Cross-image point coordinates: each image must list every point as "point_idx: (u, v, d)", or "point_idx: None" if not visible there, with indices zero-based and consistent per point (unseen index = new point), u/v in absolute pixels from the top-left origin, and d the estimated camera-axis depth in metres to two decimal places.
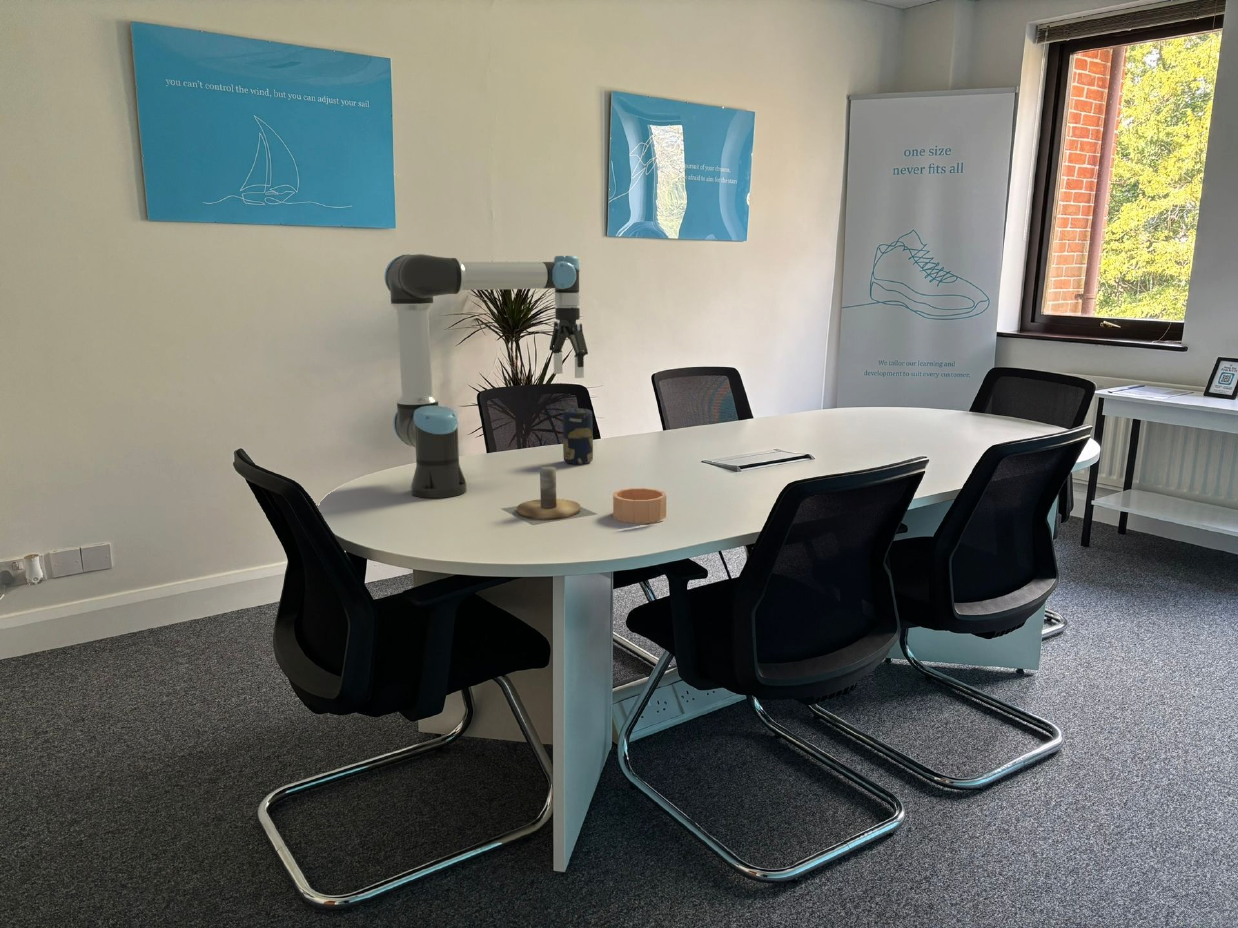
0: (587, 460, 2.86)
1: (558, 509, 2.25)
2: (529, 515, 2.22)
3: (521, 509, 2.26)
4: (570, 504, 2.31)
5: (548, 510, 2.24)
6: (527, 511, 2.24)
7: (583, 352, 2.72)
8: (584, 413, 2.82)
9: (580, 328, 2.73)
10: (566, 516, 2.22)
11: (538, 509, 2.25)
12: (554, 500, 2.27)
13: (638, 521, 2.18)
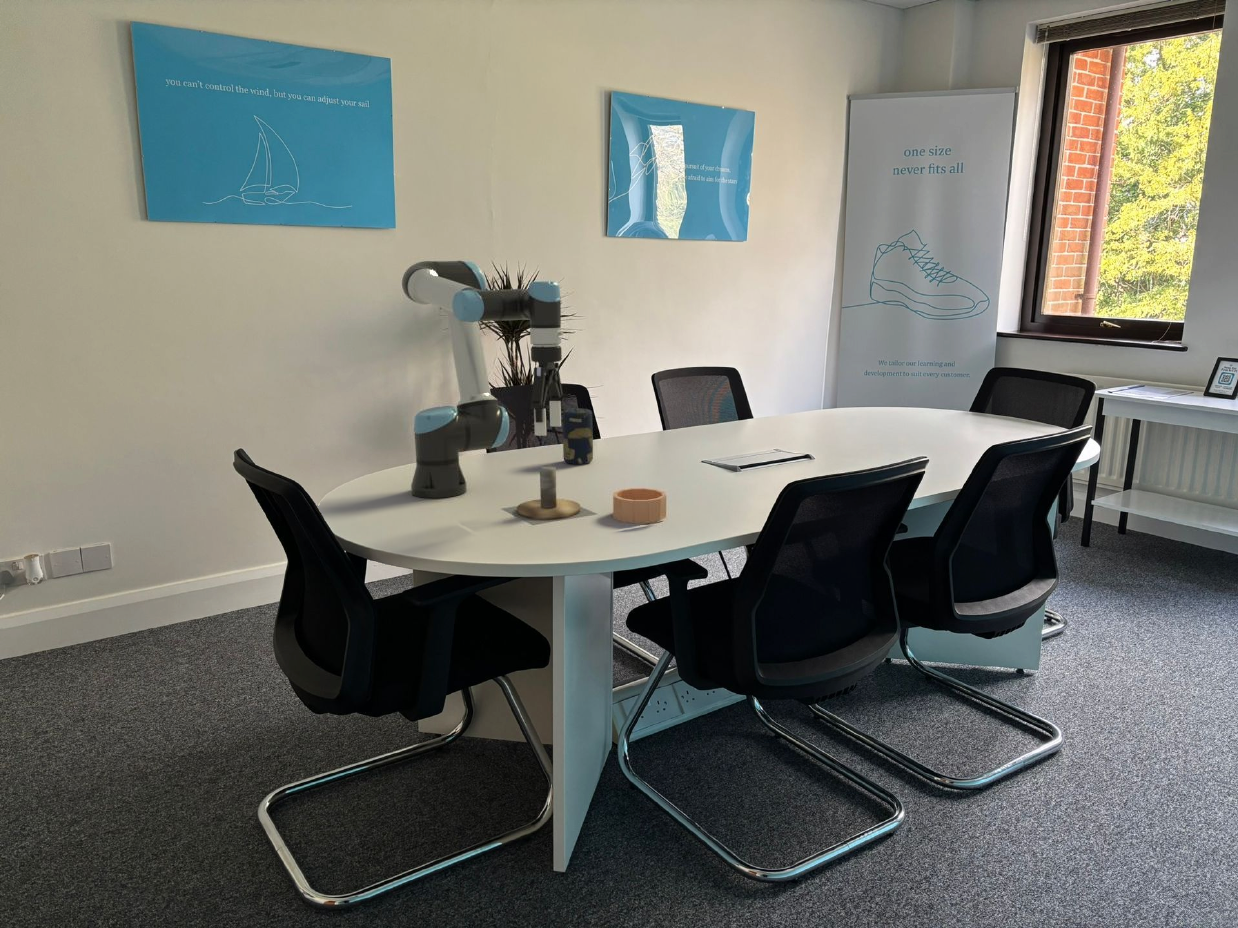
0: (587, 460, 2.86)
1: (558, 509, 2.25)
2: (529, 515, 2.22)
3: (521, 509, 2.26)
4: (570, 504, 2.31)
5: (548, 510, 2.24)
6: (527, 511, 2.24)
7: (534, 404, 2.14)
8: (584, 413, 2.82)
9: (540, 373, 2.16)
10: (566, 516, 2.22)
11: (538, 509, 2.25)
12: (554, 500, 2.27)
13: (638, 521, 2.18)
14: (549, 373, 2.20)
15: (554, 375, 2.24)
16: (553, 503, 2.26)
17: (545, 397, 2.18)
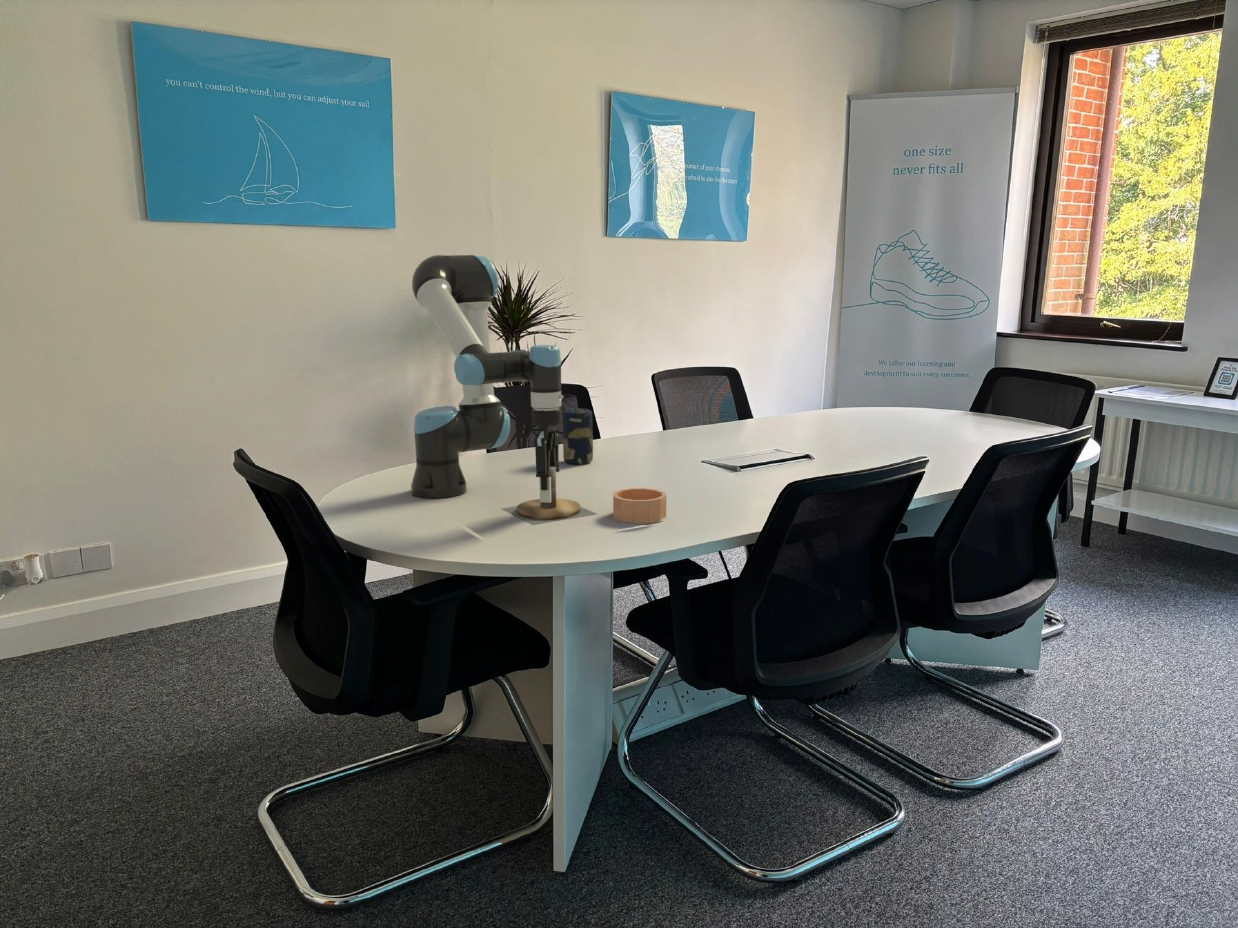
0: (587, 460, 2.86)
1: (558, 509, 2.25)
2: (528, 515, 2.22)
3: (521, 509, 2.26)
4: (570, 503, 2.31)
5: (548, 510, 2.25)
6: (527, 511, 2.24)
7: (540, 474, 2.21)
8: (584, 413, 2.82)
9: (541, 444, 2.19)
10: (566, 516, 2.22)
11: (538, 509, 2.26)
12: (554, 500, 2.27)
13: (638, 521, 2.18)
14: (549, 438, 2.22)
15: (554, 437, 2.25)
16: (553, 503, 2.26)
17: (549, 464, 2.23)
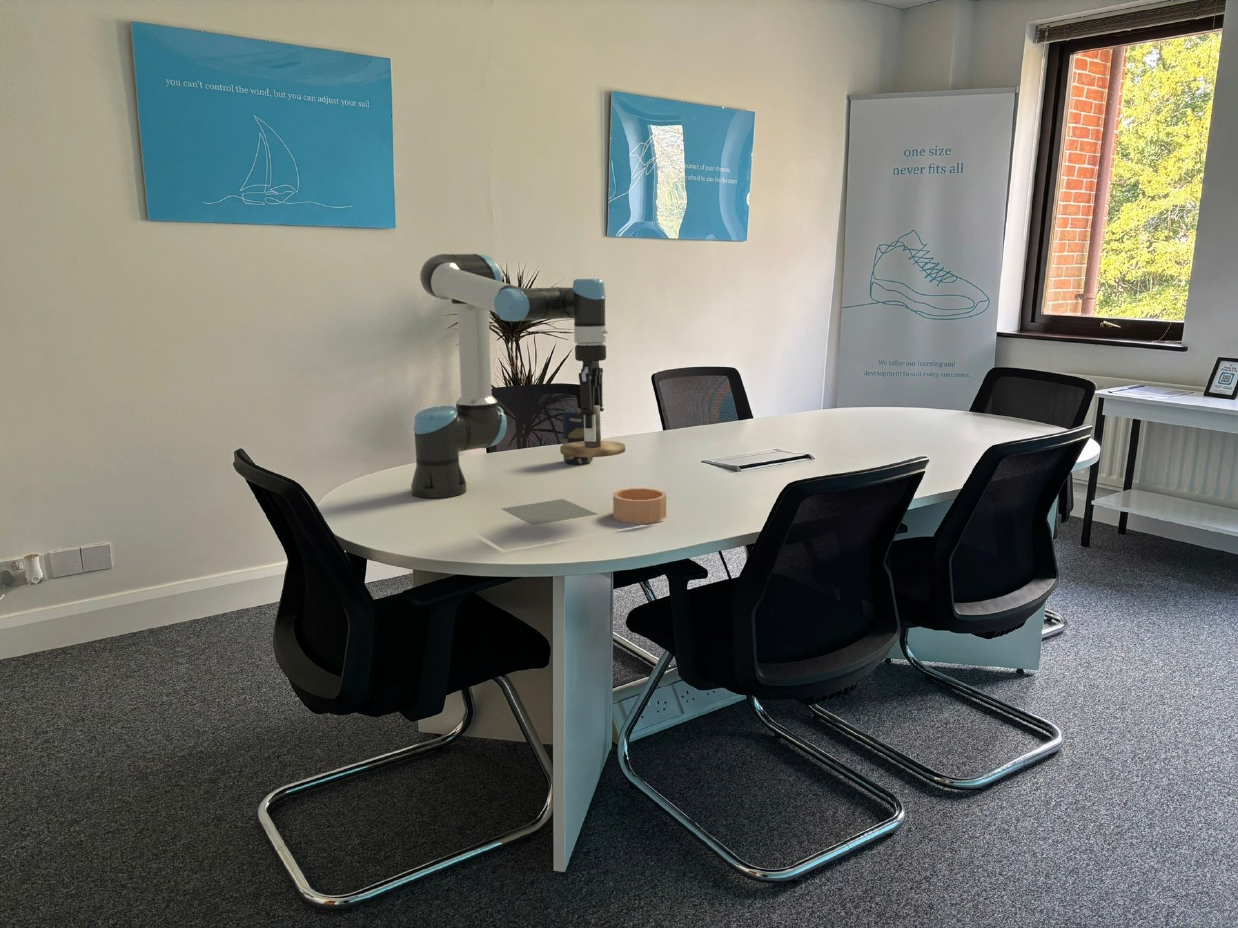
0: (587, 460, 2.86)
1: (603, 448, 2.19)
2: (573, 453, 2.16)
3: (565, 448, 2.20)
4: (614, 444, 2.24)
5: (592, 449, 2.18)
6: (572, 450, 2.18)
7: (584, 411, 2.15)
8: None
9: (586, 380, 2.13)
10: (611, 454, 2.16)
11: (582, 448, 2.19)
12: (598, 439, 2.20)
13: (638, 521, 2.18)
14: (594, 374, 2.16)
15: (598, 374, 2.19)
16: (597, 442, 2.20)
17: (593, 401, 2.17)
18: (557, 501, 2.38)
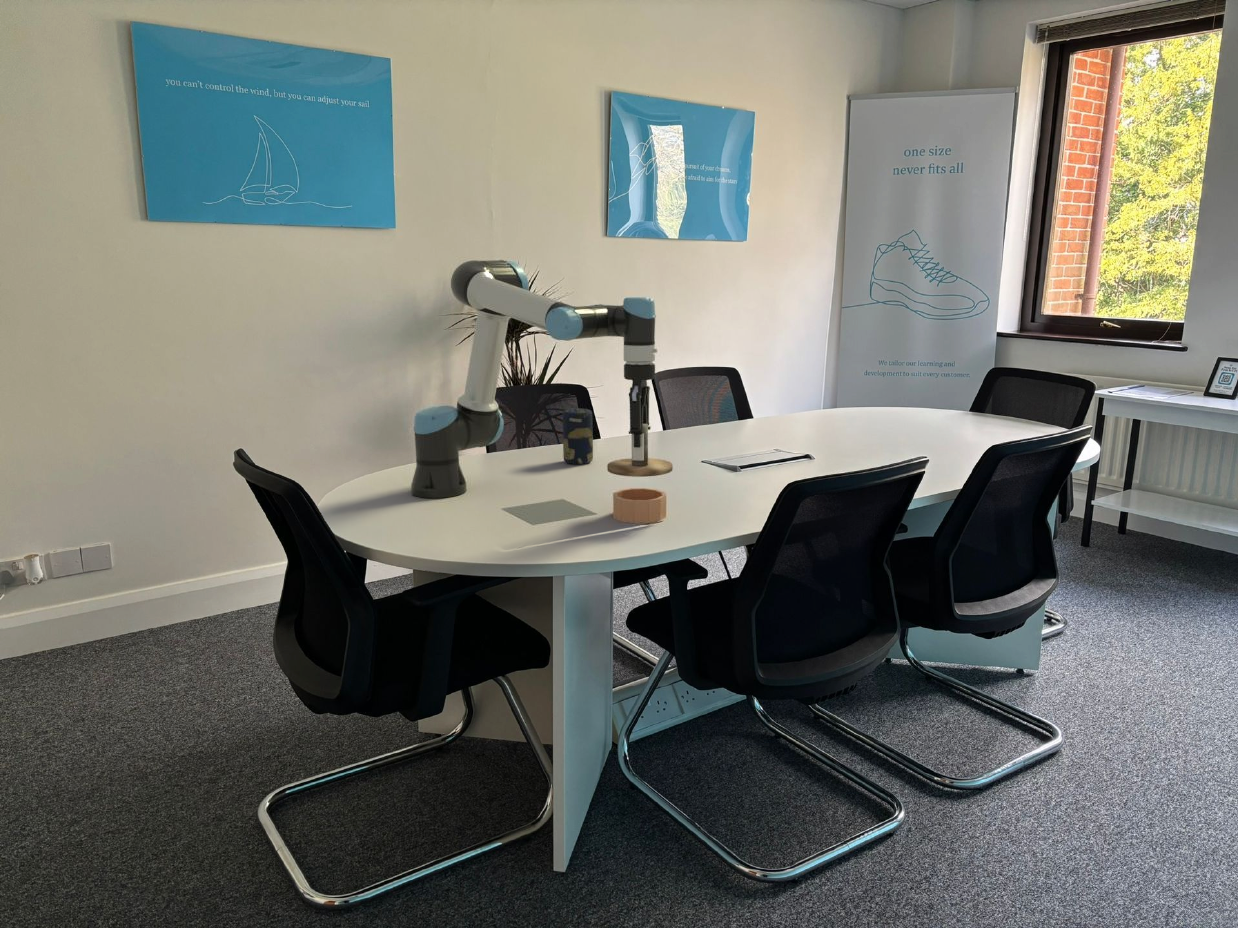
0: (587, 460, 2.86)
1: (651, 467, 2.18)
2: (622, 472, 2.15)
3: (612, 467, 2.19)
4: (661, 462, 2.24)
5: (641, 467, 2.17)
6: (620, 468, 2.17)
7: (633, 430, 2.14)
8: (584, 413, 2.82)
9: (636, 399, 2.12)
10: (660, 473, 2.15)
11: (630, 467, 2.19)
12: (646, 458, 2.20)
13: (638, 521, 2.18)
14: (643, 393, 2.15)
15: (646, 393, 2.18)
16: (645, 461, 2.19)
17: (642, 420, 2.16)
18: (557, 501, 2.38)
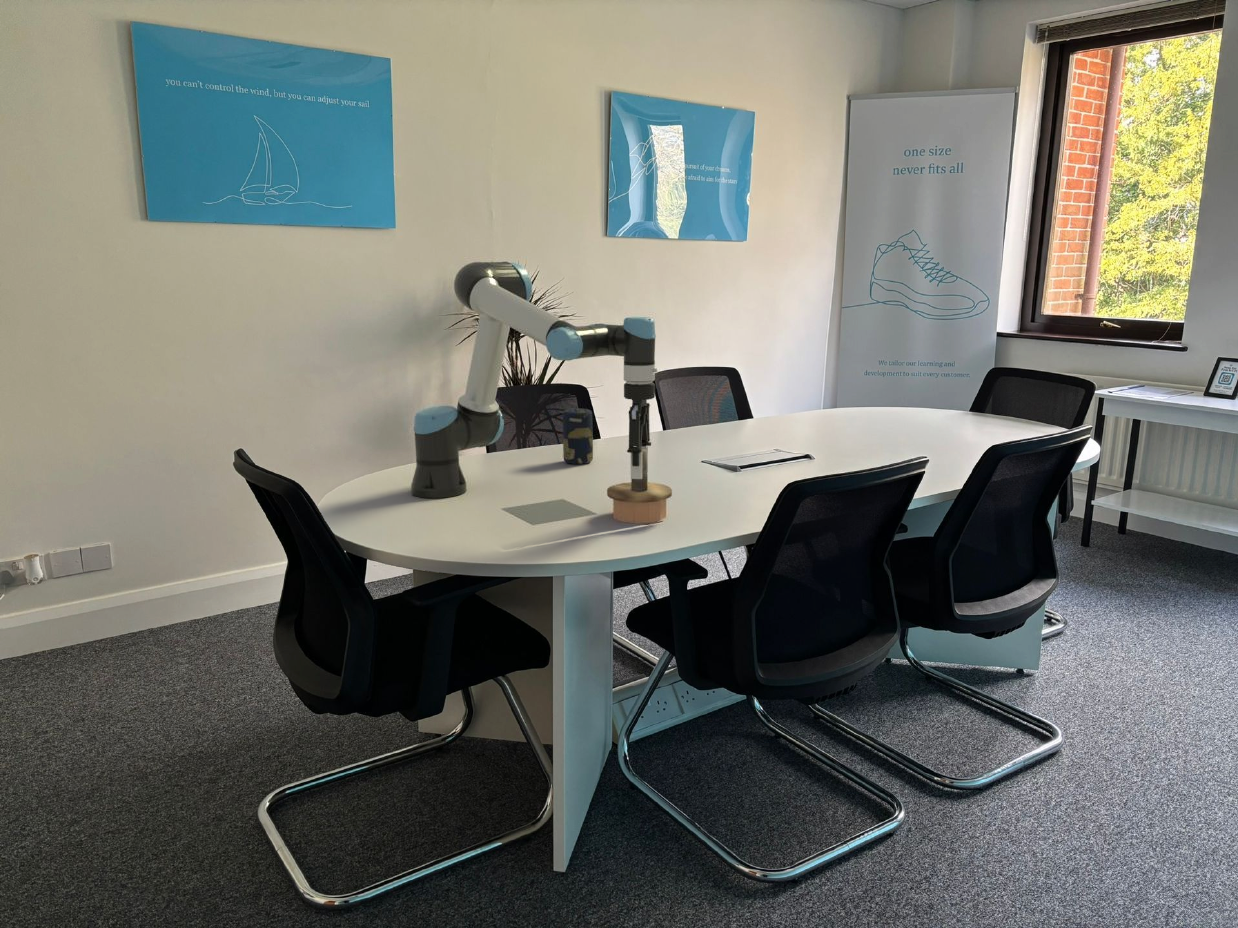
0: (587, 460, 2.86)
1: (650, 492, 2.20)
2: (622, 498, 2.16)
3: (612, 492, 2.20)
4: (660, 487, 2.25)
5: (640, 493, 2.19)
6: (620, 494, 2.18)
7: (632, 449, 2.14)
8: (584, 413, 2.82)
9: (635, 417, 2.12)
10: (660, 499, 2.17)
11: (630, 492, 2.20)
12: (646, 483, 2.21)
13: (638, 521, 2.18)
14: (643, 412, 2.16)
15: (646, 412, 2.19)
16: (645, 486, 2.21)
17: (641, 439, 2.16)
18: (557, 501, 2.38)
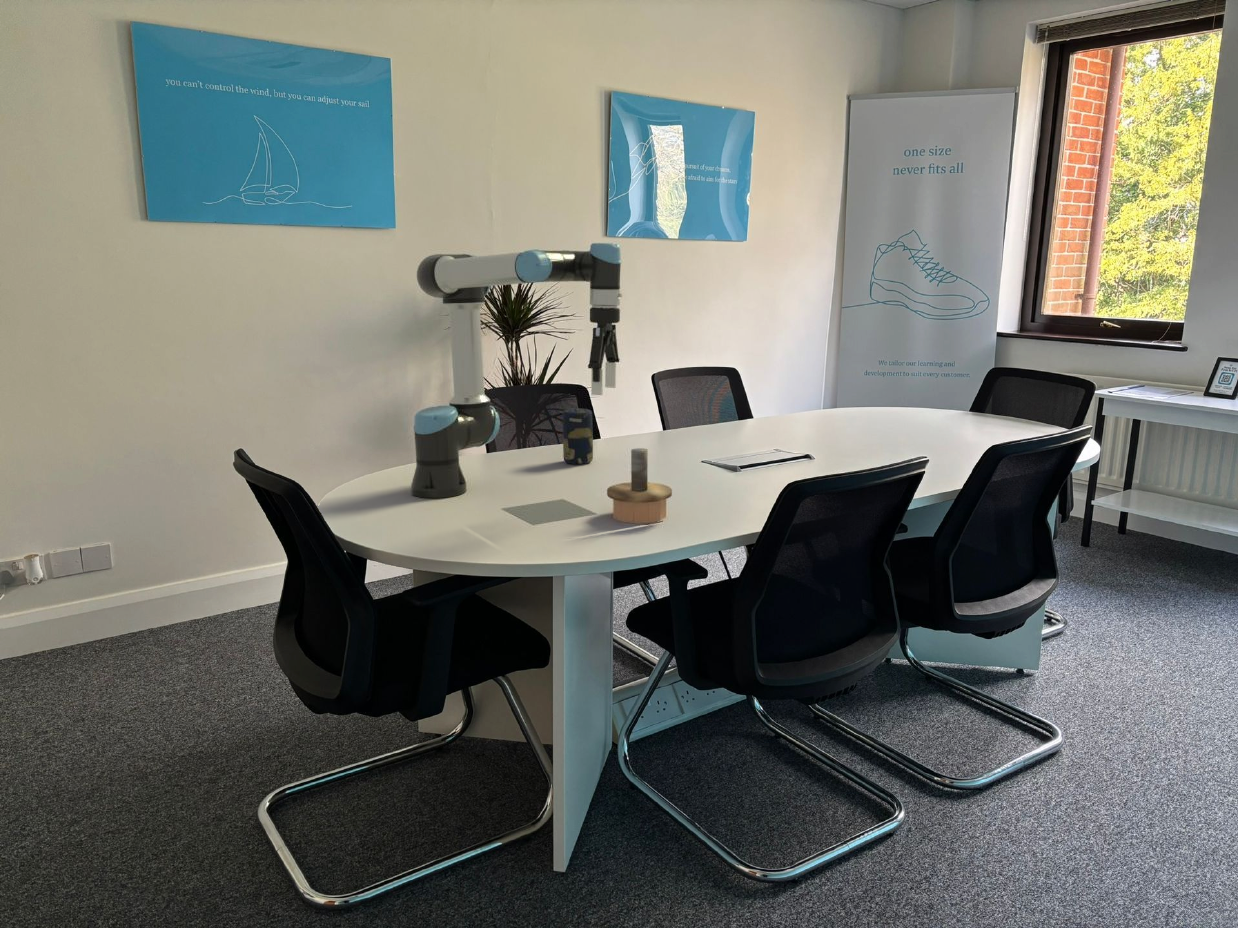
0: (587, 460, 2.86)
1: (650, 492, 2.20)
2: (622, 498, 2.16)
3: (612, 492, 2.20)
4: (660, 487, 2.25)
5: (640, 493, 2.19)
6: (620, 494, 2.18)
7: (592, 363, 2.18)
8: (584, 413, 2.82)
9: (599, 334, 2.20)
10: (660, 499, 2.17)
11: (630, 492, 2.20)
12: (646, 483, 2.21)
13: (638, 521, 2.18)
14: (607, 334, 2.24)
15: (611, 336, 2.28)
16: (645, 486, 2.21)
17: (603, 357, 2.22)
18: (557, 501, 2.38)
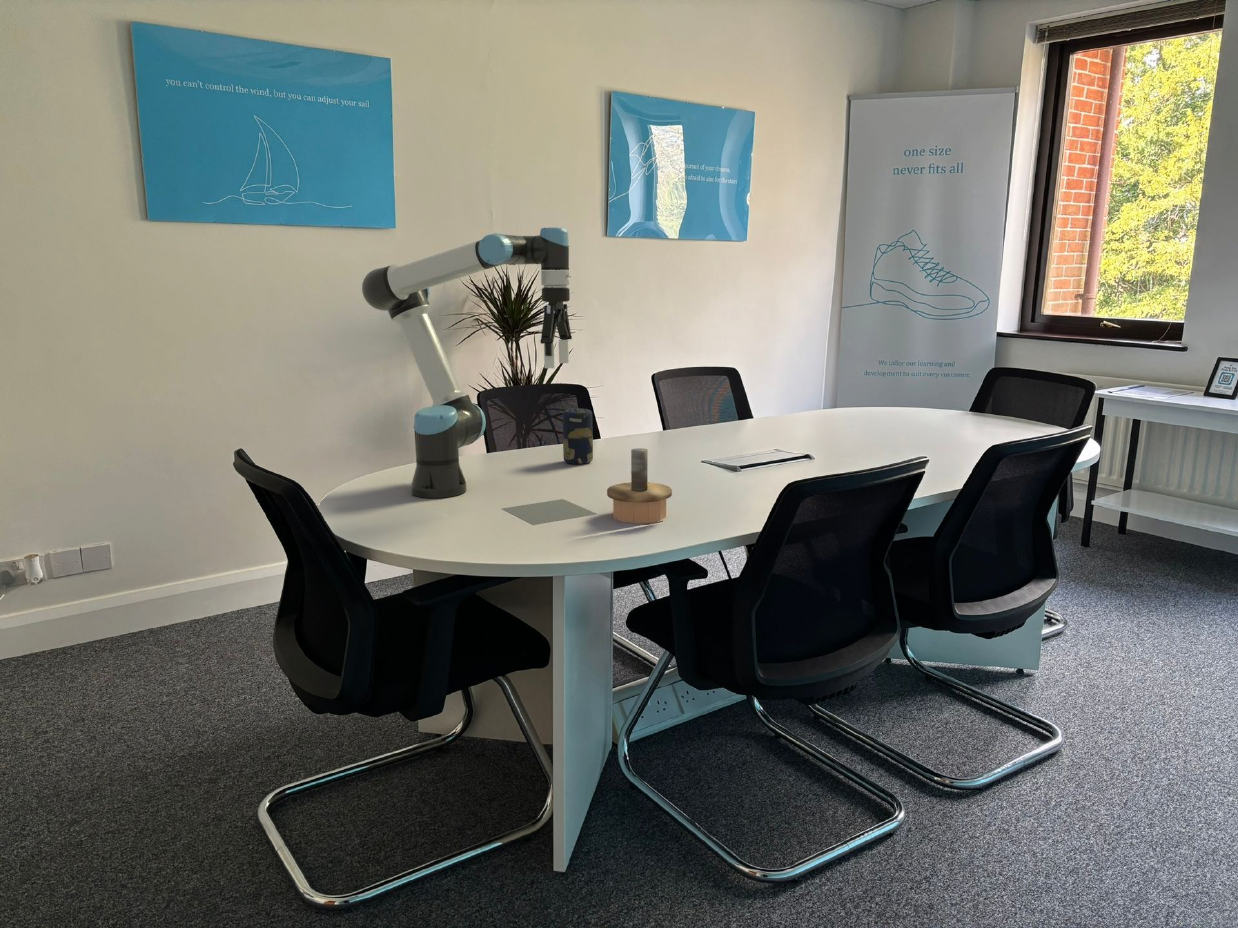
0: (587, 460, 2.86)
1: (650, 492, 2.20)
2: (622, 498, 2.16)
3: (612, 492, 2.20)
4: (660, 487, 2.25)
5: (640, 493, 2.19)
6: (620, 494, 2.18)
7: (544, 338, 2.36)
8: (584, 413, 2.82)
9: (550, 311, 2.37)
10: (660, 499, 2.17)
11: (630, 492, 2.20)
12: (646, 483, 2.21)
13: (638, 521, 2.18)
14: (558, 312, 2.42)
15: (563, 314, 2.45)
16: (645, 486, 2.21)
17: (554, 333, 2.39)
18: (557, 501, 2.38)
